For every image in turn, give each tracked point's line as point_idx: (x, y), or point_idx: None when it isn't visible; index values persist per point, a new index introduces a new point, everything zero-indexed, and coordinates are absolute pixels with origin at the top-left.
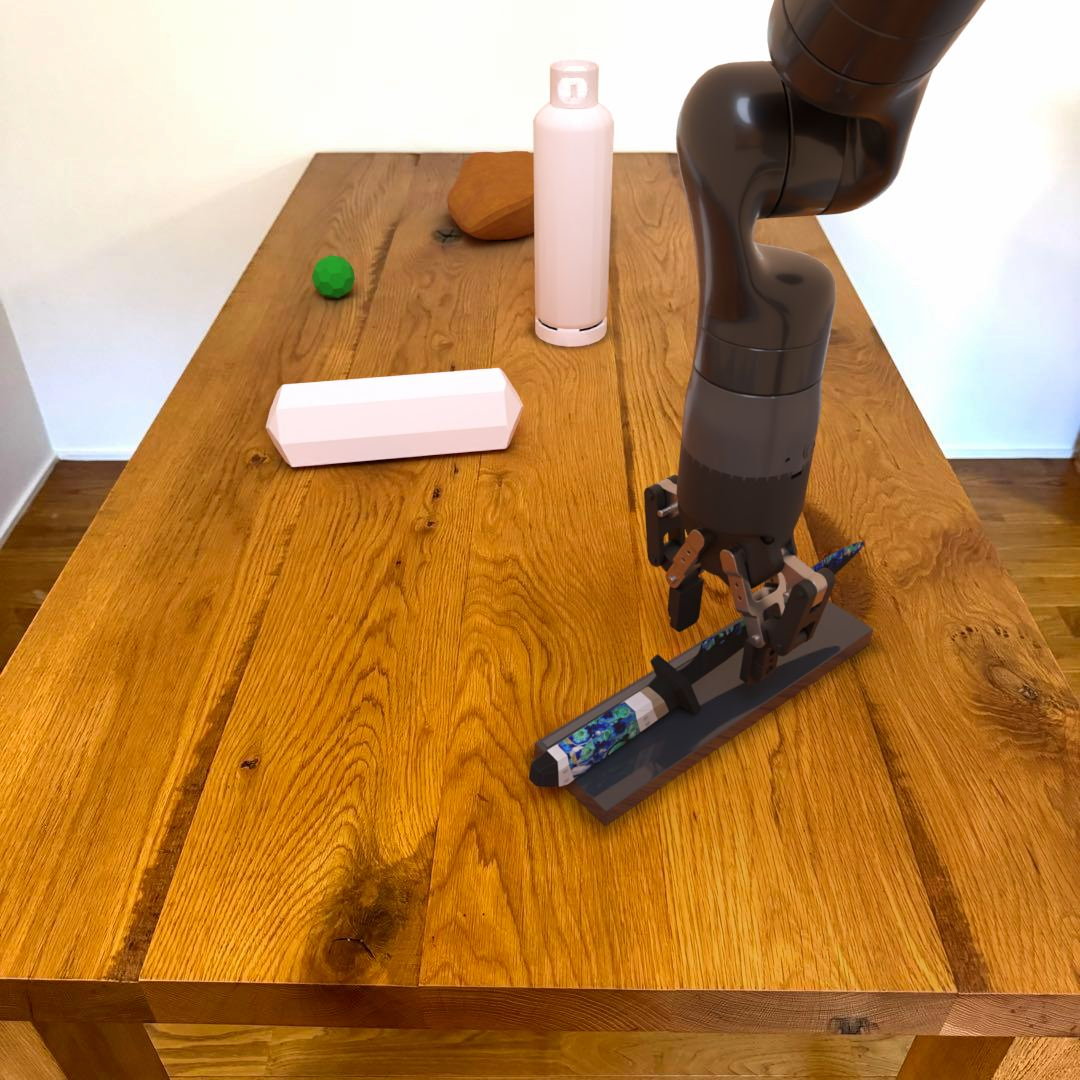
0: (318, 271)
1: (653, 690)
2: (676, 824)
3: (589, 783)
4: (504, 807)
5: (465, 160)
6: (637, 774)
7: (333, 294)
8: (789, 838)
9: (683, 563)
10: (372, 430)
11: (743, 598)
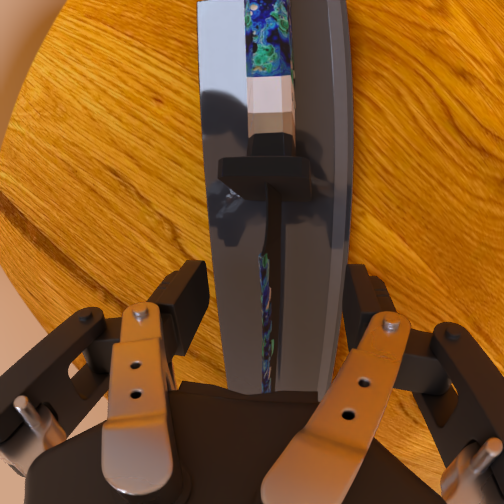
0: None
1: (269, 132)
2: (160, 76)
3: (243, 5)
4: None
5: None
6: (215, 59)
7: None
8: (93, 166)
9: (360, 374)
10: None
11: (121, 368)
